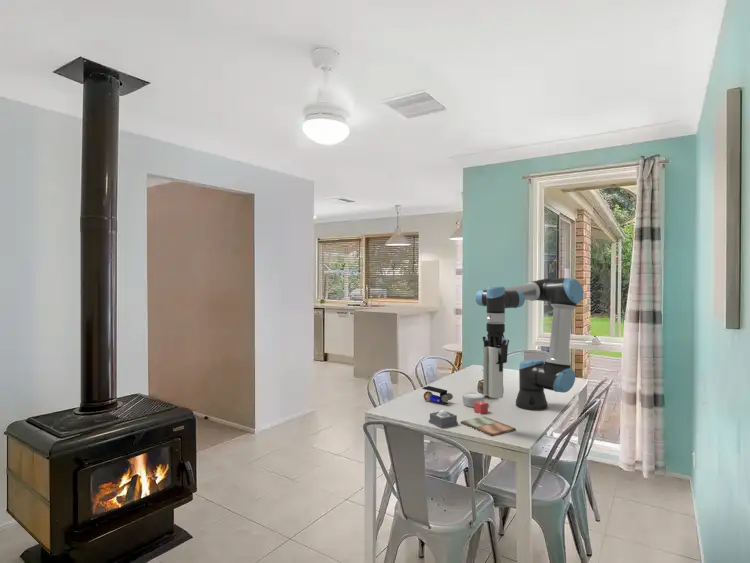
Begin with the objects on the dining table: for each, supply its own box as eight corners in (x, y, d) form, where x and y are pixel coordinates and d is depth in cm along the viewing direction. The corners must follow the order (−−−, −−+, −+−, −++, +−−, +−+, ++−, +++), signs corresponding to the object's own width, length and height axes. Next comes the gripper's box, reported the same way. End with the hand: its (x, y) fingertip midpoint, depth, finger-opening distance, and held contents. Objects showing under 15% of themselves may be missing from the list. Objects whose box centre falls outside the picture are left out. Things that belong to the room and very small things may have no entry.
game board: (484, 418, 208) (484, 416, 208) (515, 430, 191) (515, 428, 191) (460, 423, 201) (460, 421, 201) (491, 436, 184) (491, 434, 184)
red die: (481, 410, 220) (481, 400, 220) (487, 412, 216) (487, 403, 216) (474, 411, 217) (474, 402, 217) (480, 414, 214) (480, 404, 213)
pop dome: (444, 417, 204) (444, 406, 204) (452, 421, 199) (452, 410, 199) (433, 419, 201) (433, 408, 201) (442, 423, 196) (442, 412, 196)
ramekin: (481, 402, 234) (481, 391, 234) (487, 408, 223) (487, 397, 223) (459, 402, 234) (459, 392, 234) (464, 408, 223) (464, 398, 223)
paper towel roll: (505, 396, 192) (505, 346, 192) (498, 399, 187) (499, 348, 187) (490, 393, 197) (490, 344, 196) (483, 396, 192) (483, 346, 192)
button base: (444, 418, 207) (444, 410, 207) (458, 424, 199) (458, 415, 199) (428, 422, 202) (428, 413, 202) (441, 428, 194) (441, 418, 194)
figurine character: (452, 406, 232) (427, 398, 241) (454, 391, 231) (428, 384, 241) (446, 409, 227) (420, 400, 236) (447, 394, 226) (421, 386, 235)
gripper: (475, 321, 196) (475, 375, 197) (503, 325, 182) (503, 383, 182) (488, 320, 200) (488, 373, 200) (516, 324, 186) (516, 380, 186)
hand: (495, 377), depth 191 cm, fingers closed on paper towel roll, 3 cm apart
